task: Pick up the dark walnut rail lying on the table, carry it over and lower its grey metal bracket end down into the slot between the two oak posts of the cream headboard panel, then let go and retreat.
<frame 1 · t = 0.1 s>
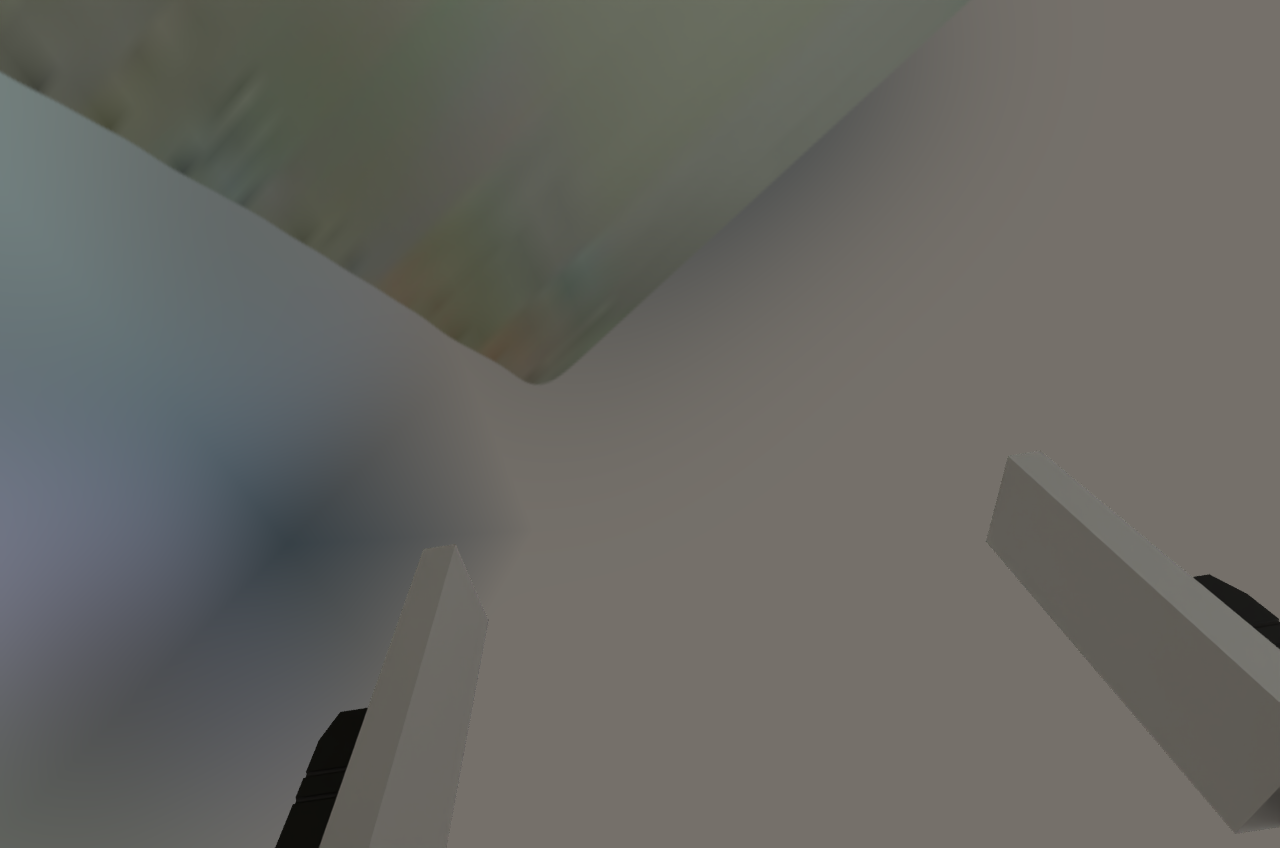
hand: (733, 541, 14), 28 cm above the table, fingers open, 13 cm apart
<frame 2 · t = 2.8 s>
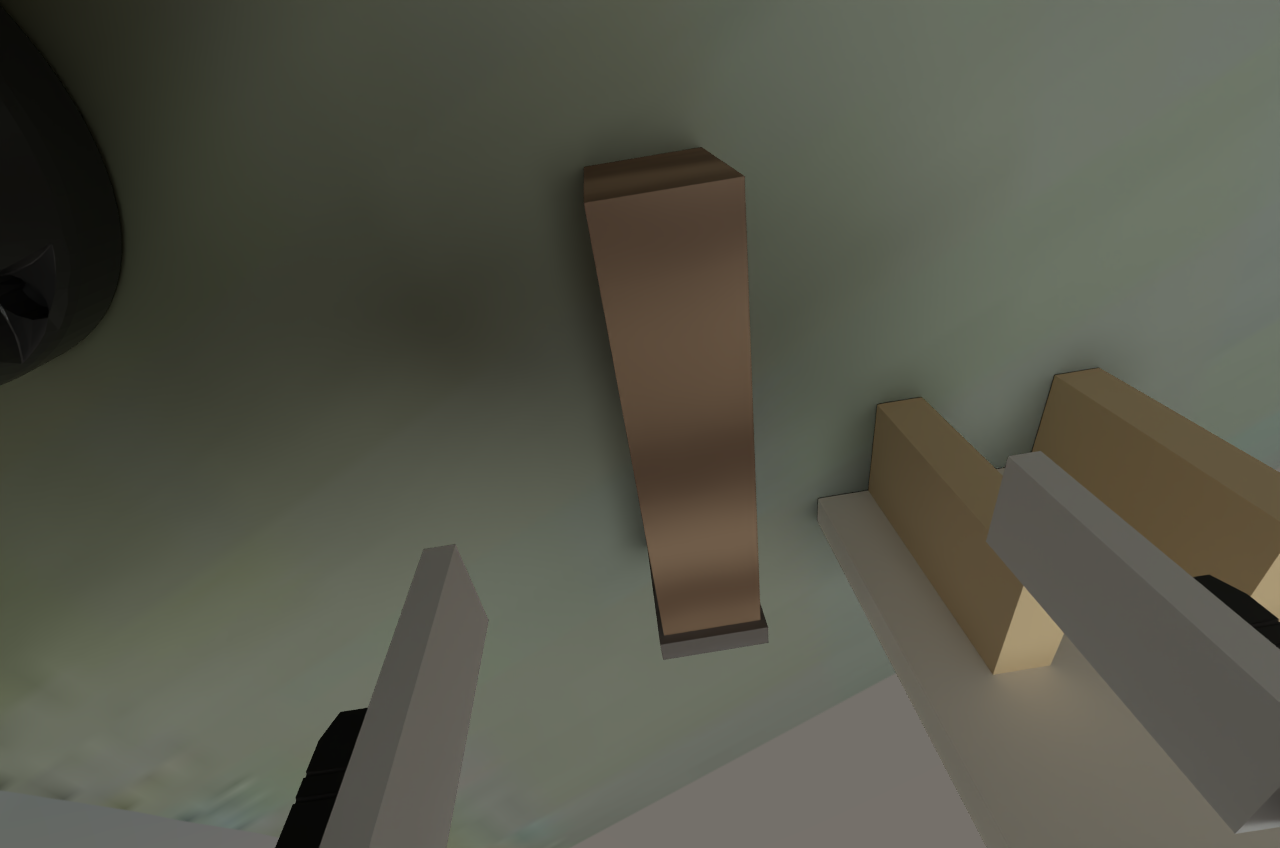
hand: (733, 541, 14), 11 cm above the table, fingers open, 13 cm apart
rail: (671, 388, 24), on the table
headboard: (977, 432, 26), on the table
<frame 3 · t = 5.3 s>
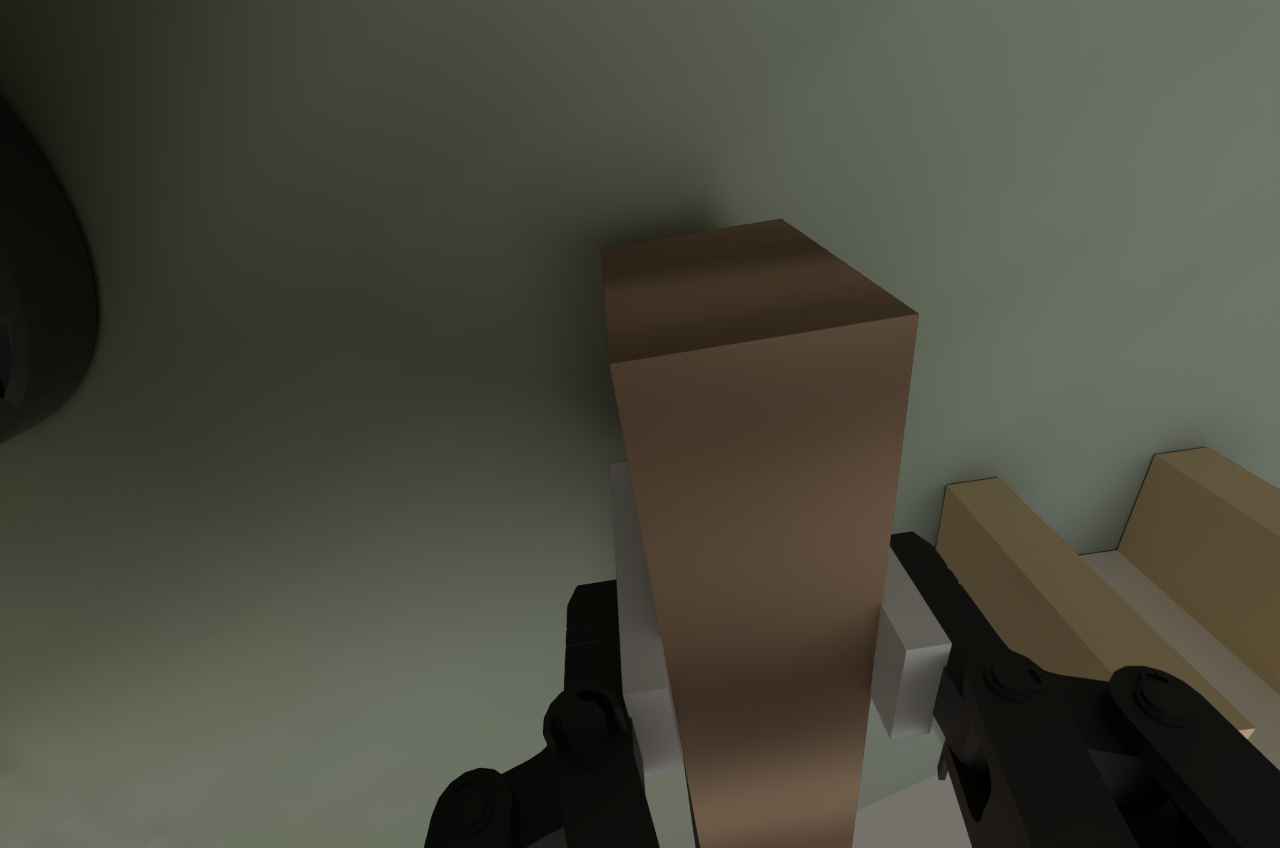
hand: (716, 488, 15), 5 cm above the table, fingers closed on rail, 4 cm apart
rail: (718, 536, 17), point 4 cm above the table, touching gripper
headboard: (1060, 515, 23), on the table
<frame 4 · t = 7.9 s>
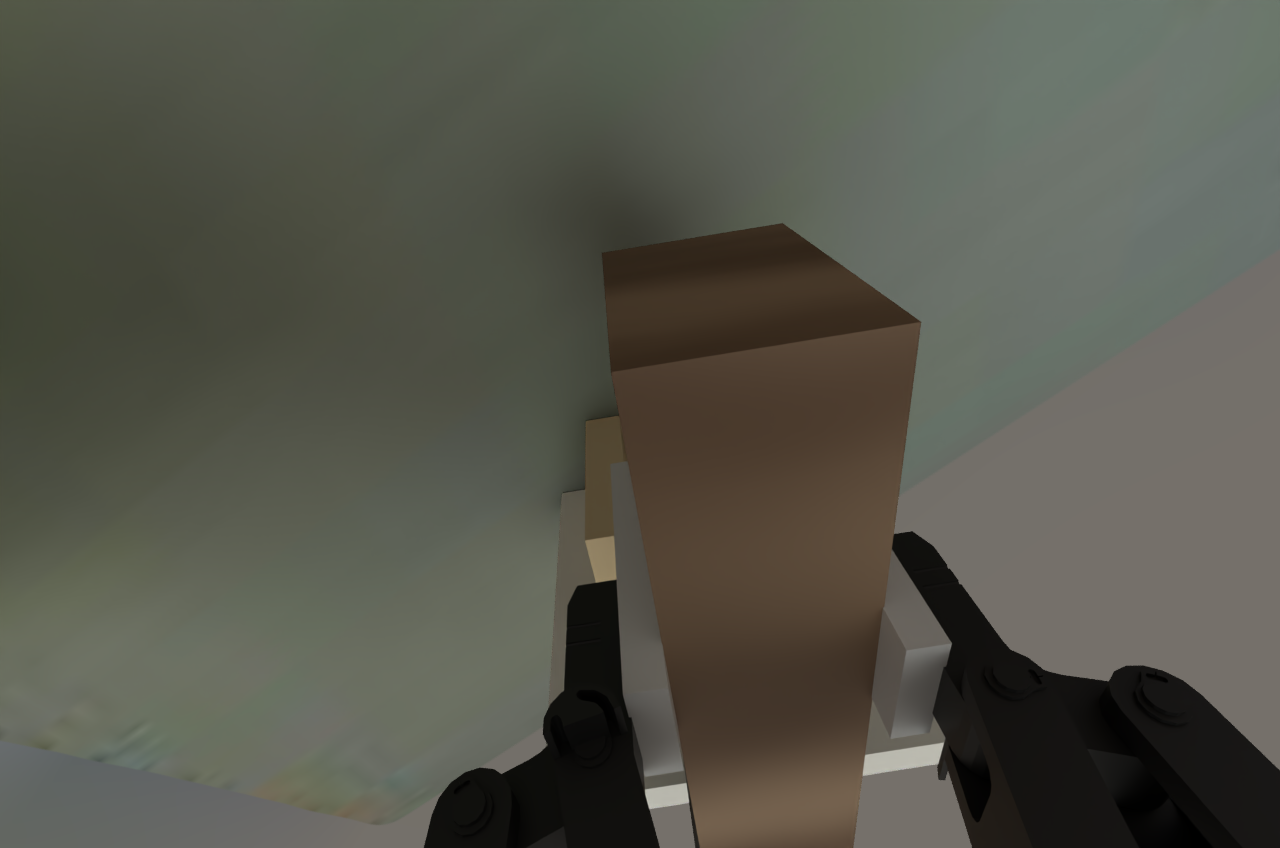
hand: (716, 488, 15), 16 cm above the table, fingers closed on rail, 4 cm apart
rail: (719, 540, 17), point 16 cm above the table, touching gripper
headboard: (674, 442, 34), on the table
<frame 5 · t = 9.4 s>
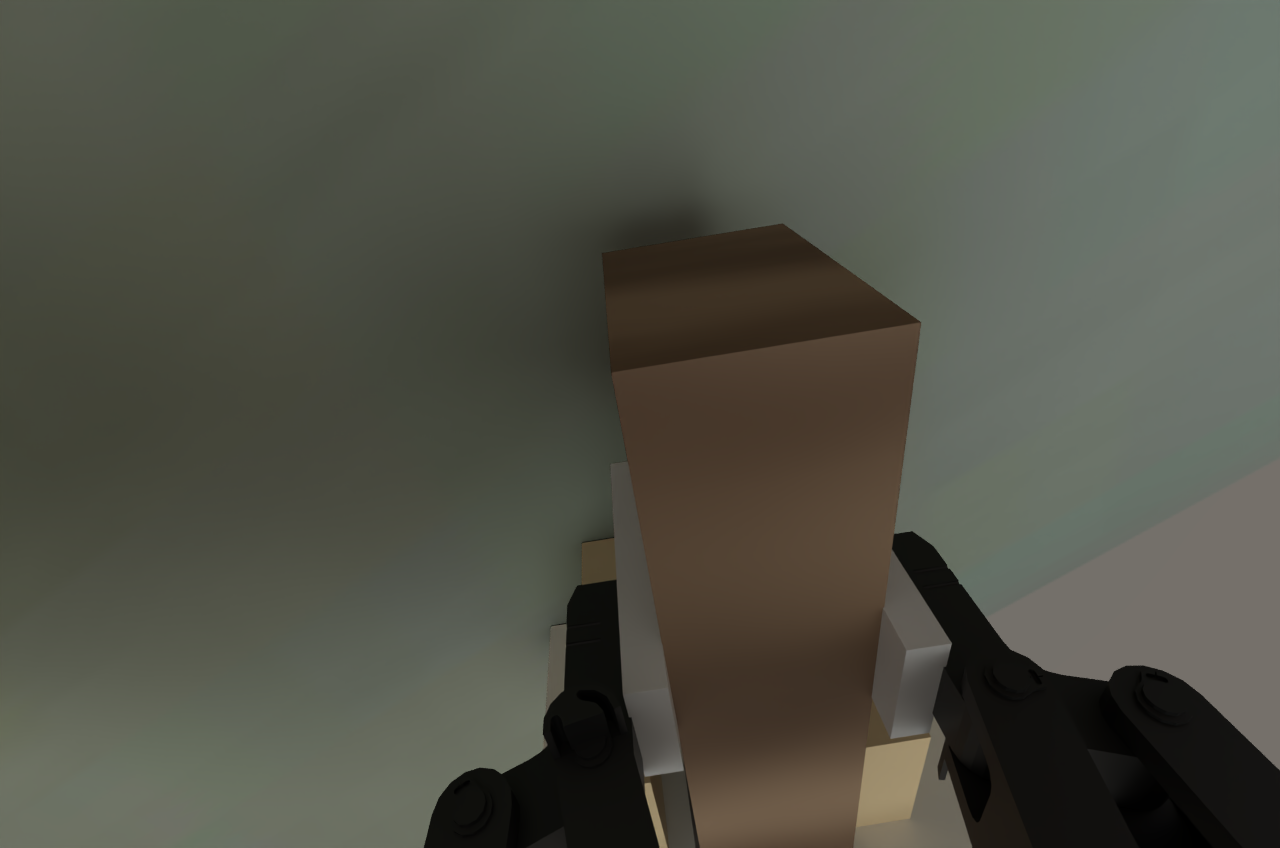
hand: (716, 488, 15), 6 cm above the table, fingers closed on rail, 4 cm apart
rail: (719, 540, 17), point 6 cm above the table, touching gripper
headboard: (700, 564, 26), on the table
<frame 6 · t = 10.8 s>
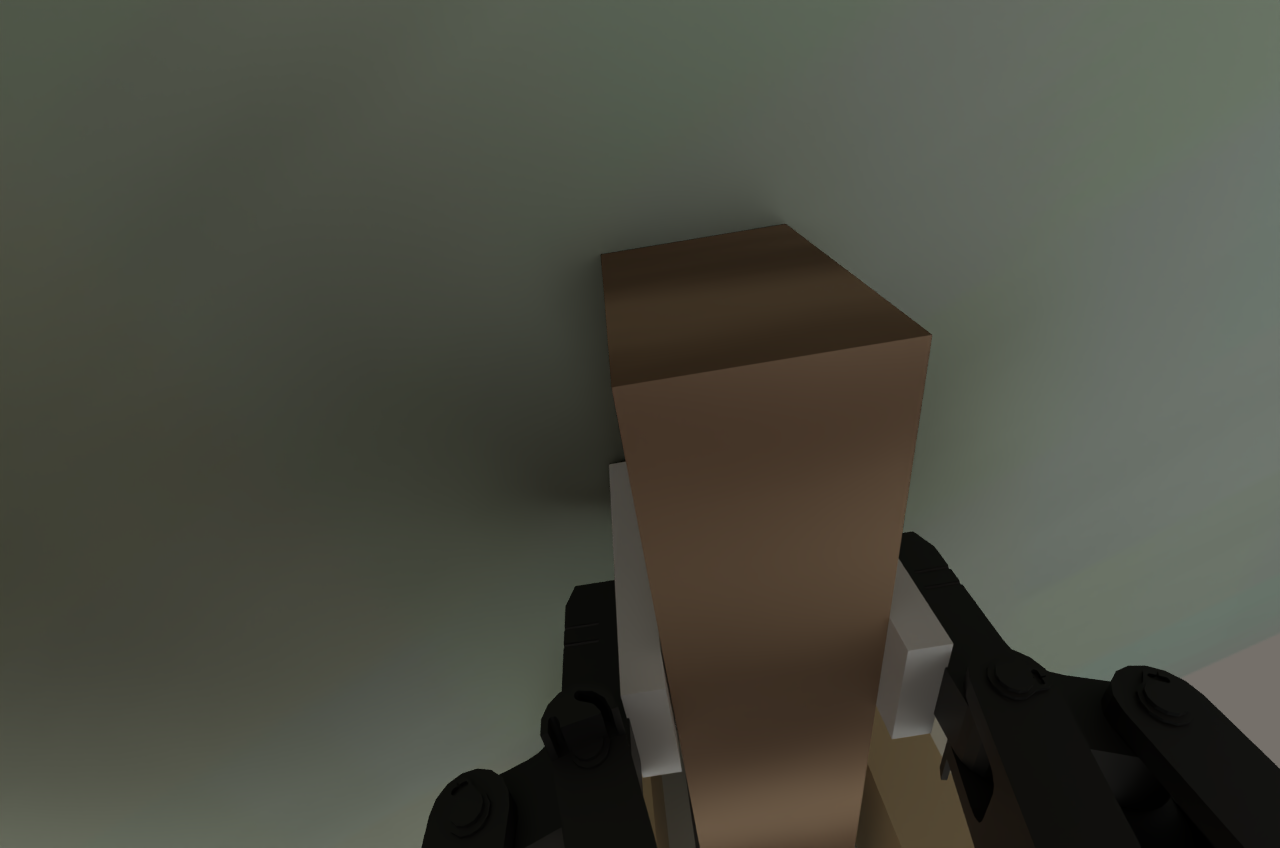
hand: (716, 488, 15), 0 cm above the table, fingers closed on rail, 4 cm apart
rail: (719, 542, 17), on the table, touching gripper
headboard: (729, 683, 21), on the table
when the fingers open (0 cm above the table, at t = 10.8 s): rail stays where it is, on the table.
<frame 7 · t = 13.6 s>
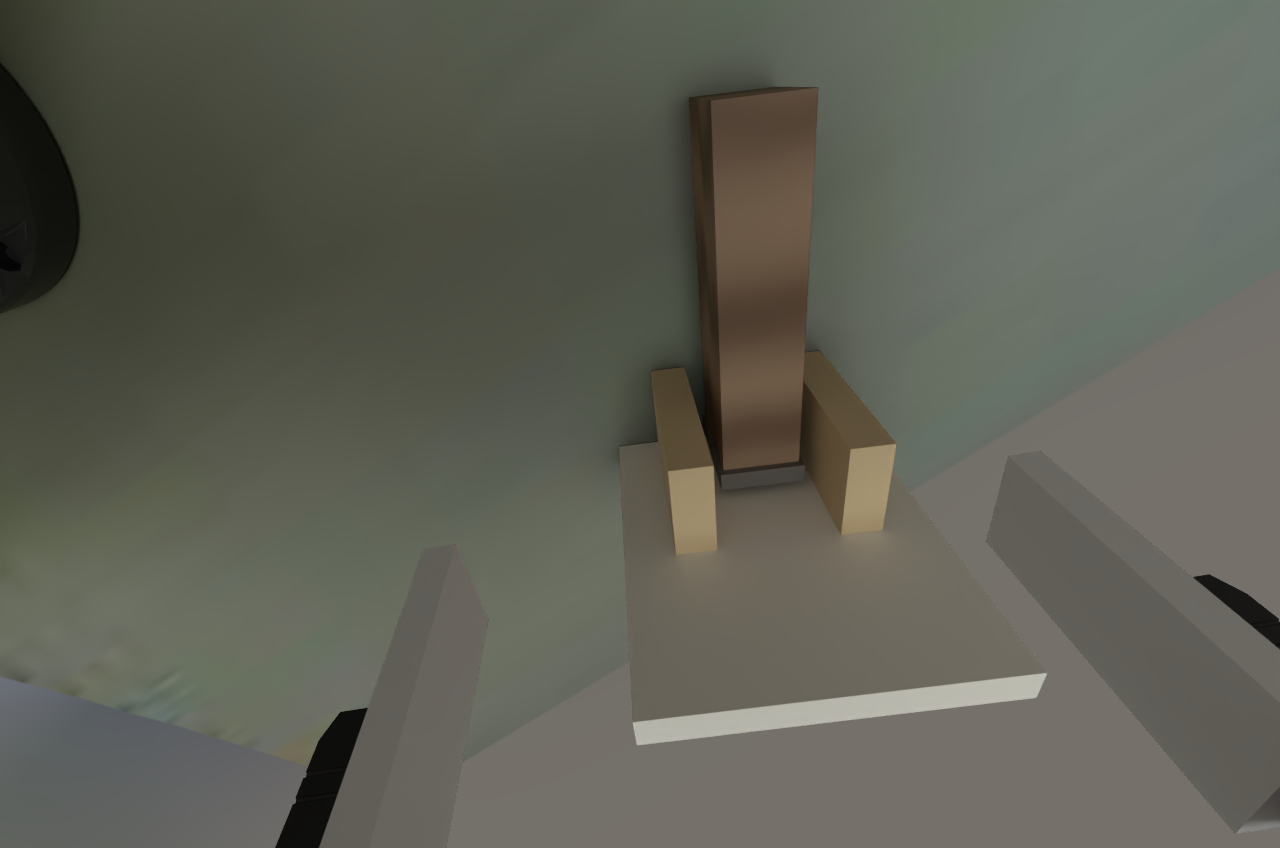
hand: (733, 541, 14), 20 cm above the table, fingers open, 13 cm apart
rail: (735, 283, 31), on the table
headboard: (735, 397, 34), on the table
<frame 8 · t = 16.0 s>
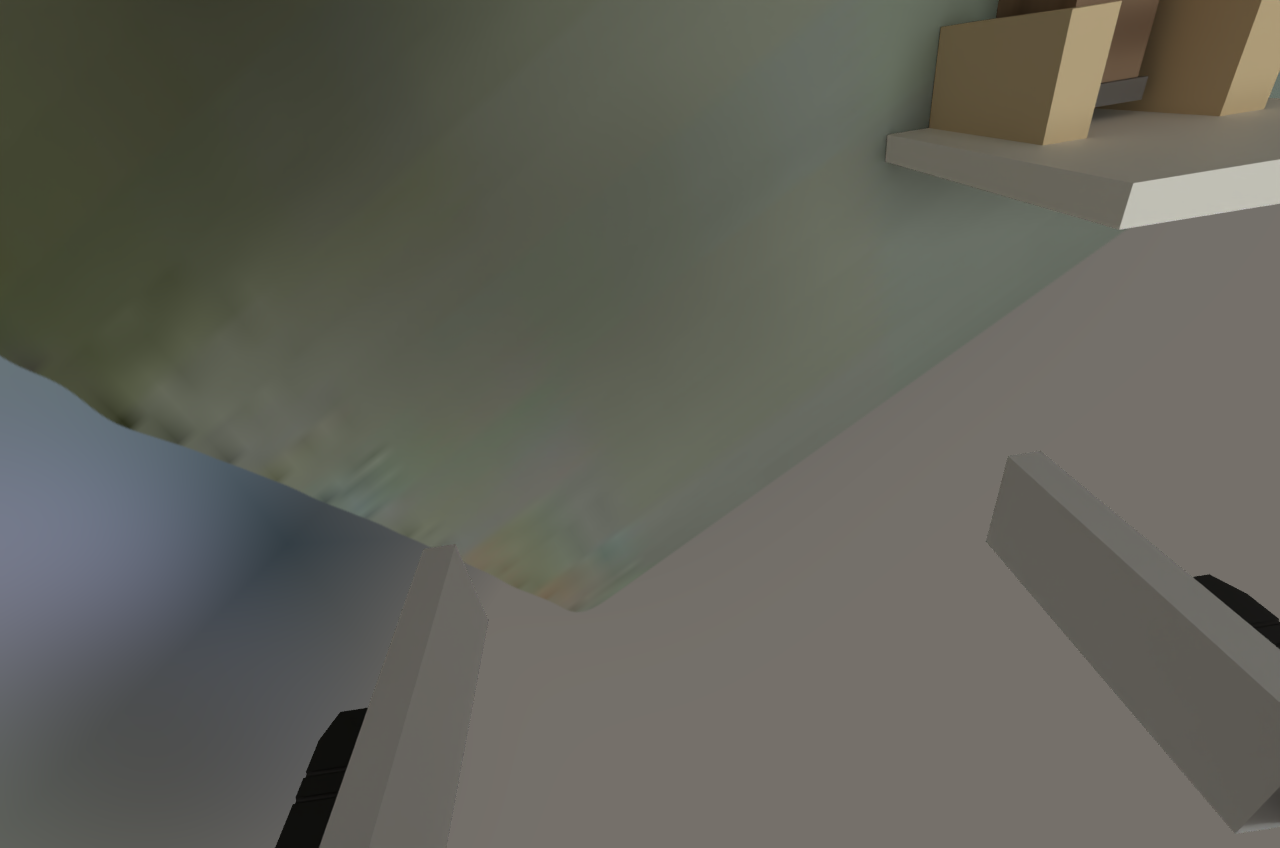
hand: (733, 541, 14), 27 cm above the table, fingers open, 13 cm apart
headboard: (1020, 65, 32), on the table
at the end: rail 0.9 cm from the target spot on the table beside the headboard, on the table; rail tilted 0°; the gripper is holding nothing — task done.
